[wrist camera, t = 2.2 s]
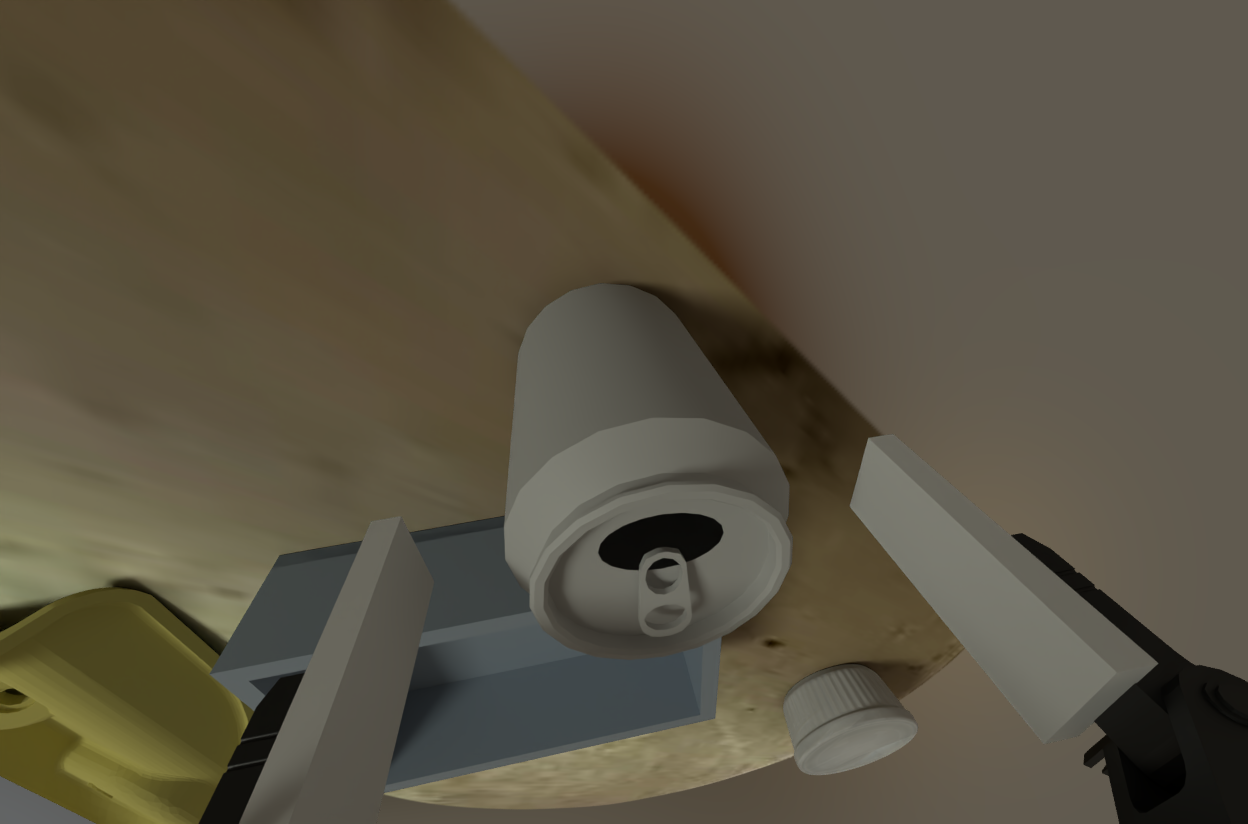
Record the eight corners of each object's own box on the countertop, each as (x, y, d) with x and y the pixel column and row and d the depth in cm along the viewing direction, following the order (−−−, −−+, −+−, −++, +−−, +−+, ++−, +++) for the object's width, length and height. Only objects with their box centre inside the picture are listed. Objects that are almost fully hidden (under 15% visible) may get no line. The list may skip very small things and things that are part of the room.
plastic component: (-205, 674, 20) (-123, 731, 16) (24, 545, 25) (120, 566, 22) (129, 838, 29) (223, 895, 26) (238, 718, 35) (327, 751, 32)
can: (687, 269, 18) (863, 444, 8) (681, 418, 22) (794, 652, 13) (503, 284, 17) (458, 499, 8) (531, 436, 22) (527, 703, 12)
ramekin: (830, 717, 48) (860, 776, 44) (750, 712, 44) (773, 778, 40) (904, 660, 43) (945, 721, 39) (821, 650, 39) (857, 716, 35)
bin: (279, 555, 23) (209, 674, 18) (689, 483, 25) (726, 573, 20) (388, 691, 31) (360, 798, 27) (688, 629, 33) (715, 718, 28)
